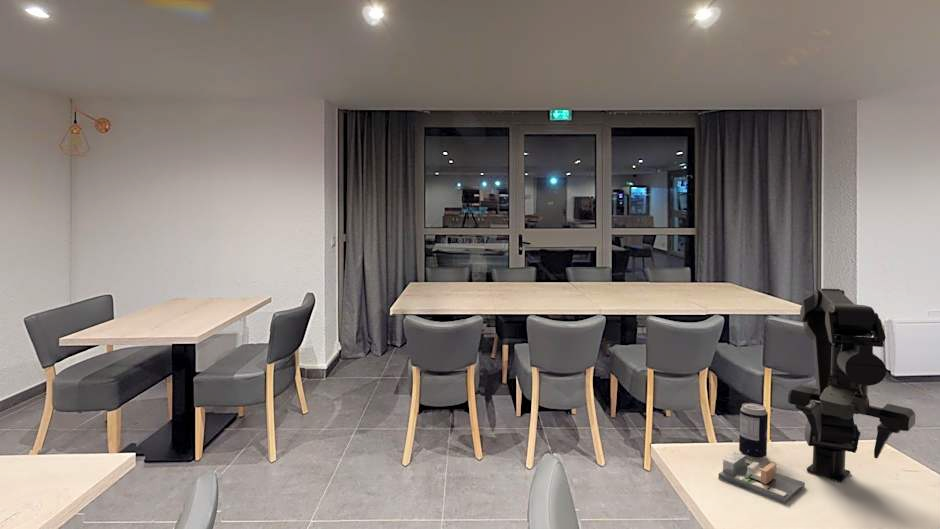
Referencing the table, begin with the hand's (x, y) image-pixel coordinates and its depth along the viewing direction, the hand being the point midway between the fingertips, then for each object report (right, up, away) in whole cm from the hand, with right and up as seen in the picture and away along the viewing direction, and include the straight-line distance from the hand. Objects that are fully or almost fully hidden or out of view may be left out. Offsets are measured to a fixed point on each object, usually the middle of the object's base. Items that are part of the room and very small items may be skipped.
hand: (846, 449), depth 94 cm
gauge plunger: (-12, -9, +8) cm, 17 cm away
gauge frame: (-11, -11, +9) cm, 18 cm away
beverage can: (-6, -10, +21) cm, 24 cm away
